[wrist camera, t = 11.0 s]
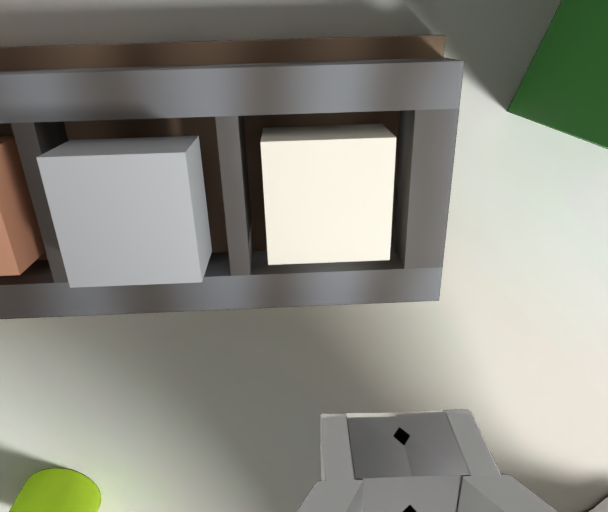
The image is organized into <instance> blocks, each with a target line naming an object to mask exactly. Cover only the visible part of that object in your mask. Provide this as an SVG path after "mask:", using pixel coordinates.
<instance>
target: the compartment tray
mask: <svg viewBox="0 0 608 512" xmlns="http://www.w3.org/2000/svg"><path fill="white" fill-rule="evenodd" d="M445 36H446V35H413V36H378V37H342V38H307V39H272V40H237V41H202V42H167V43H132V44H96V45H61V46H26V47H0V136H14V137H15V141H16V145H17V148H18V152H19V156H20V159H21V163H22V167H23V170H24V174H25V177H26V181H27V185H28V188H29V192H30V196H31V199H32V203H33V207H34V210H35V214H36V218H37V221H38V225H39V229H40V232H41V236H42V239H43V243H44V247H45V250H46V251H45V252H44V253H43V254H42V255H41V256H40V257H39V258H38V259H37V260H36V261H35V262H34V263H32V264H31V265H30V266H29V267H28V268H27V269H26V270H25V271H24V272H23V273H22V274H21V275H10V276H0V319H15V318H39V317H63V316H87V315H110V314H134V313H158V312H181V311H205V310H229V309H253V308H276V307H300V306H324V305H347V304H371V303H395V302H419V301H439V296H440V286H441V277H442V267H443V258H444V248H445V239H446V229H447V220H448V210H449V201H450V192H451V182H452V173H453V163H454V154H455V144H456V135H457V125H458V116H459V106H460V97H461V88H462V78H463V69H464V61H461V60H455V59H449V58H444V48H445ZM355 124H383V125H384V126H385V127H386V128H387V129H388V130H389V131H390V132H391V133H392V134H393V135H394V136H396V155H395V174H394V192H393V211H392V229H391V247H390V260H379V261H354V262H329V263H304V264H279V265H268V254H267V238H266V222H265V207H264V191H263V175H262V159H261V143H260V142H261V137H262V132H263V128H264V127H295V126H325V125H355ZM171 136H199V143H200V151H201V160H202V169H203V177H204V186H205V194H206V203H207V212H208V220H209V229H210V238H211V246H212V253H211V256H210V259H209V262H208V265H207V268H206V271H205V274H204V278H203V281H202V282H198V283H174V284H149V285H125V286H100V287H75V288H70V285H69V282H68V278H67V274H66V270H65V266H64V262H63V258H62V255H61V251H60V247H59V243H58V239H57V235H56V232H55V228H54V224H53V220H52V216H51V212H50V208H49V205H48V201H47V197H46V193H45V189H44V185H43V182H42V178H41V174H40V170H39V166H38V162H37V158H36V157H38V156H40V155H42V154H44V153H46V152H48V151H50V150H52V149H54V148H56V147H58V146H59V145H61V144H63V143H65V142H67V141H69V140H81V139H111V138H141V137H171Z"/></svg>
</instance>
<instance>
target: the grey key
mask: <svg viewBox="0 0 608 512" xmlns="http://www.w3.org/2000/svg"><path fill="white" fill-rule="evenodd" d="M36 158H37V162H38V166H39V170H40V174H41V178H42V182H43V185H44V189H45V193H46V197H47V201H48V205H49V208H50V212H51V216H52V220H53V224H54V228H55V232H56V235H57V239H58V243H59V247H60V251H61V255H62V258H63V262H64V266H65V270H66V274H67V278H68V282H69V285H70V288H75V287H100V286H125V285H149V284H174V283H198V282H202V281H203V278H204V274H205V271H206V268H207V265H208V262H209V259H210V256H211V253H212V246H211V238H210V229H209V220H208V212H207V203H206V194H205V186H204V177H203V169H202V160H201V151H200V143H199V136H171V137H141V138H111V139H81V140H69V141H67V142H65V143H63V144H61V145H59V146H58V147H56V148H54V149H52V150H50V151H48V152H46V153H44V154H42V155H40V156H38V157H36Z"/></svg>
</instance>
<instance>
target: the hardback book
mask: <svg viewBox="0 0 608 512" xmlns="http://www.w3.org/2000/svg"><path fill="white" fill-rule="evenodd" d="M507 111H508V112H510V113H513V114H516V115H518V116H521V117H524V118H526V119H529V120H532V121H534V122H537V123H540V124H542V125H545V126H548V127H550V128H553V129H555V130H558V131H561V132H563V133H566V134H569V135H571V136H574V137H577V138H579V139H582V140H585V141H587V142H590V143H593V144H595V145H598V146H601V147H603V148H606V149H608V0H562V1H561V3H560V5H559V7H558V9H557V11H556V13H555V15H554V17H553V19H552V21H551V23H550V25H549V27H548V29H547V31H546V33H545V35H544V37H543V39H542V41H541V43H540V45H539V47H538V49H537V51H536V53H535V55H534V57H533V59H532V61H531V64H530V66H529V68H528V70H527V72H526V74H525V76H524V78H523V80H522V82H521V84H520V86H519V88H518V90H517V92H516V94H515V96H514V98H513V100H512V102H511V104H510V106H509V108H508V110H507Z"/></svg>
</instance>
